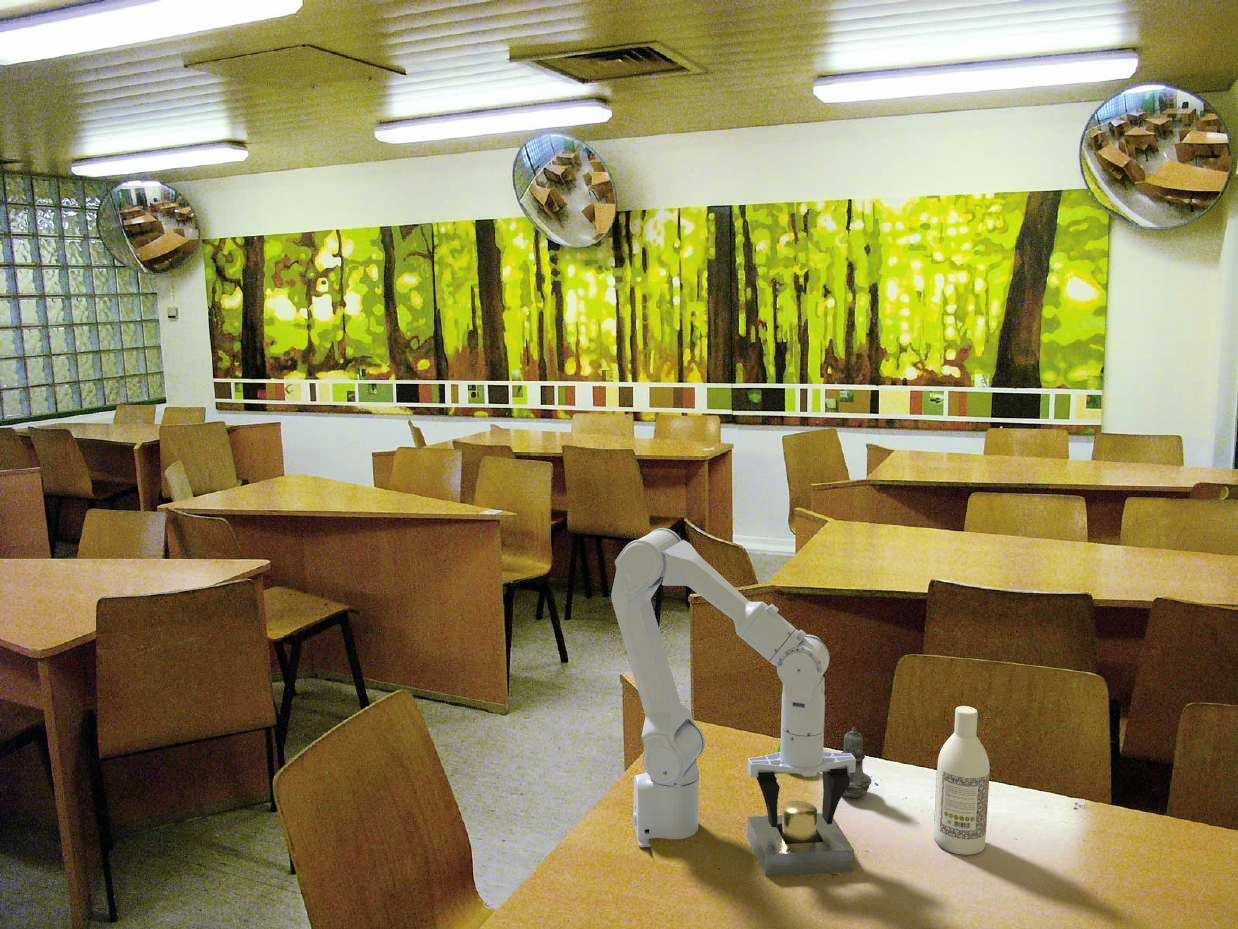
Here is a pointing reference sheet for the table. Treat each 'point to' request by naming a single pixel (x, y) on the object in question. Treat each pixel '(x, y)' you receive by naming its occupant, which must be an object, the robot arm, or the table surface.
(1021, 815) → the table surface
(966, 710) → the bath foam
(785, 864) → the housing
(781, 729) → the robot arm
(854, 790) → the grey chess piece
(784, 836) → the plug
